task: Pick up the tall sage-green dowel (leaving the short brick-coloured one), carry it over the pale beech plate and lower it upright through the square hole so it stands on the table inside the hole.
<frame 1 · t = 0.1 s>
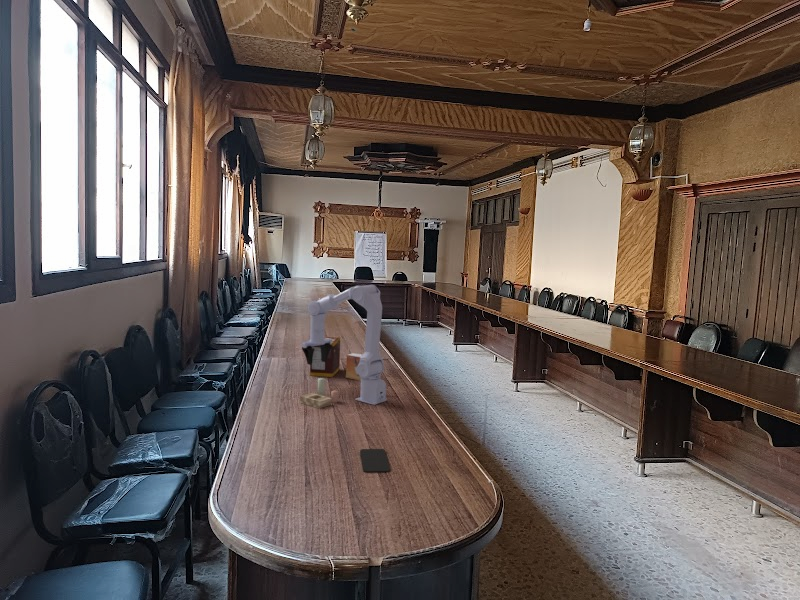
hand: (316, 363, 222), 10 cm above the table, fingers open, 7 cm apart
hole plate: (315, 403, 200), on the table
supplement box: (325, 372, 248), on the table
long pin: (320, 398, 208), on the table
short pin: (334, 401, 204), on the table
small box: (356, 378, 240), on the table
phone: (374, 462, 151), on the table
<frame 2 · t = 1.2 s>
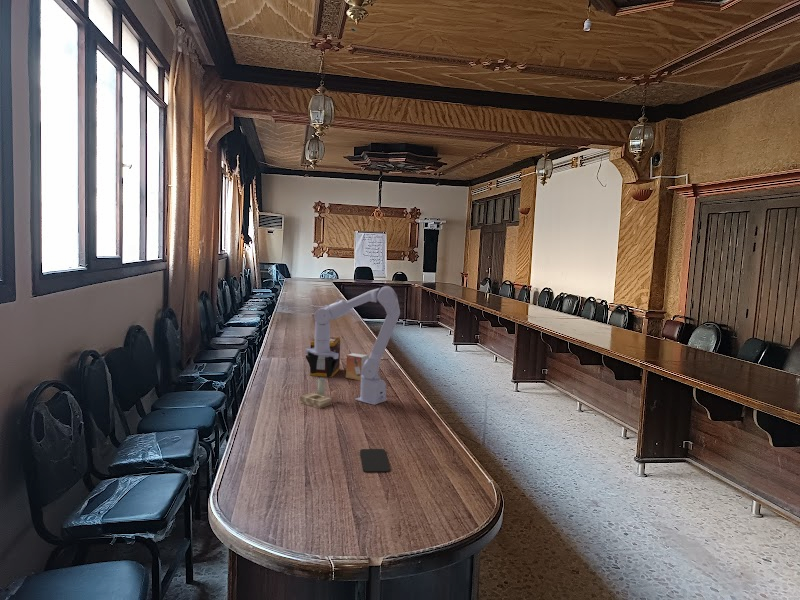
hand: (321, 374, 207), 9 cm above the table, fingers open, 7 cm apart
nothing on the table moved.
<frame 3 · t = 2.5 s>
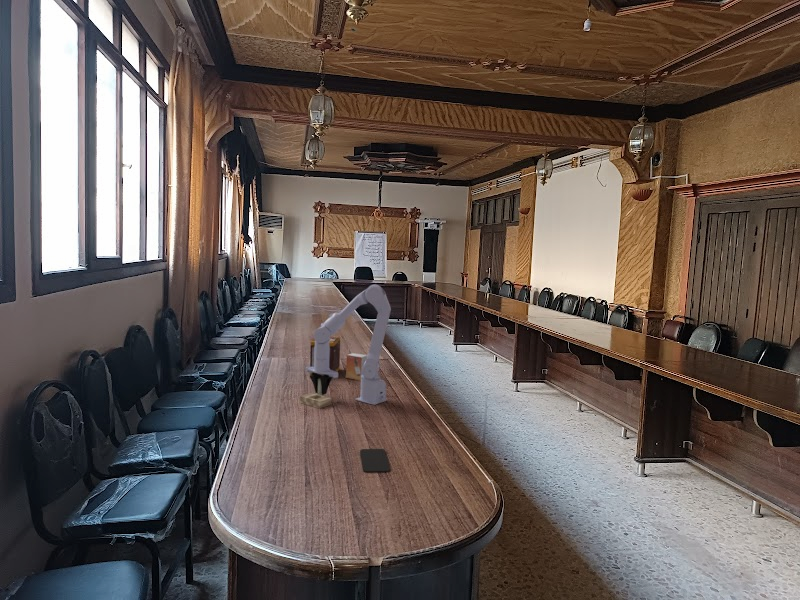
hand: (321, 393, 208), 2 cm above the table, fingers closed on long pin, 3 cm apart
long pin: (320, 398, 208), on the table, touching gripper
everything else where it was.
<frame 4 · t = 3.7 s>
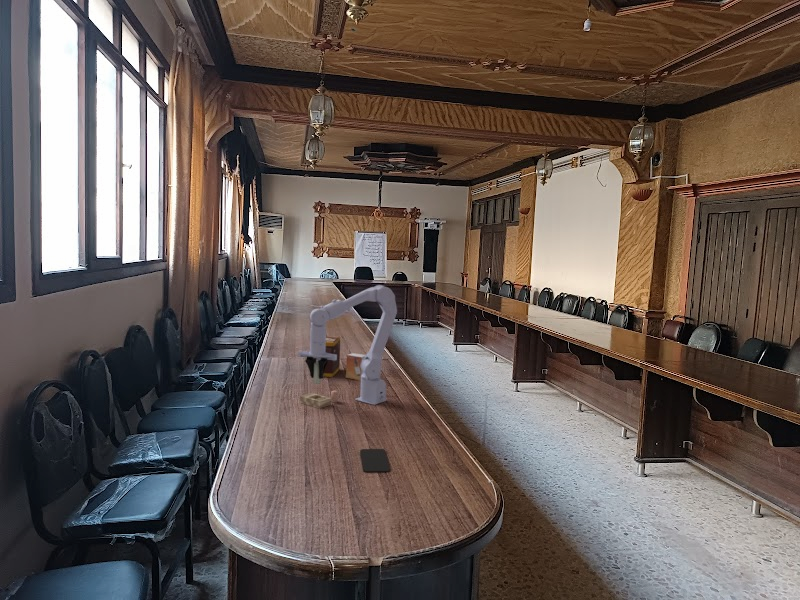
hand: (316, 377, 201), 9 cm above the table, fingers closed on long pin, 3 cm apart
long pin: (316, 383, 201), point 7 cm above the table, touching gripper
everything else where it was.
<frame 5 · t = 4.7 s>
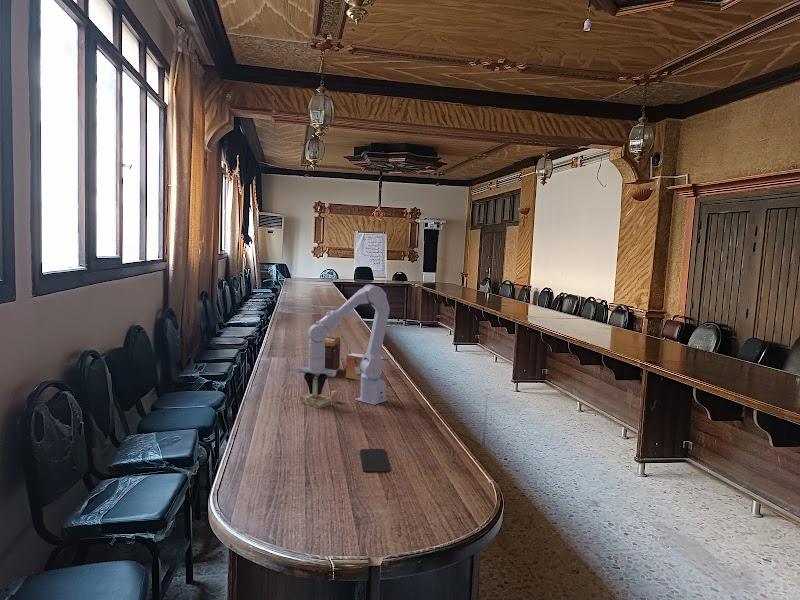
hand: (315, 393, 200), 4 cm above the table, fingers closed on long pin, 3 cm apart
long pin: (315, 398, 200), point 2 cm above the table, touching gripper
everything else where it was.
when the fingers open (3 cm above the table, at t = 5.1 s): long pin drops 1 cm, resting in hole plate.
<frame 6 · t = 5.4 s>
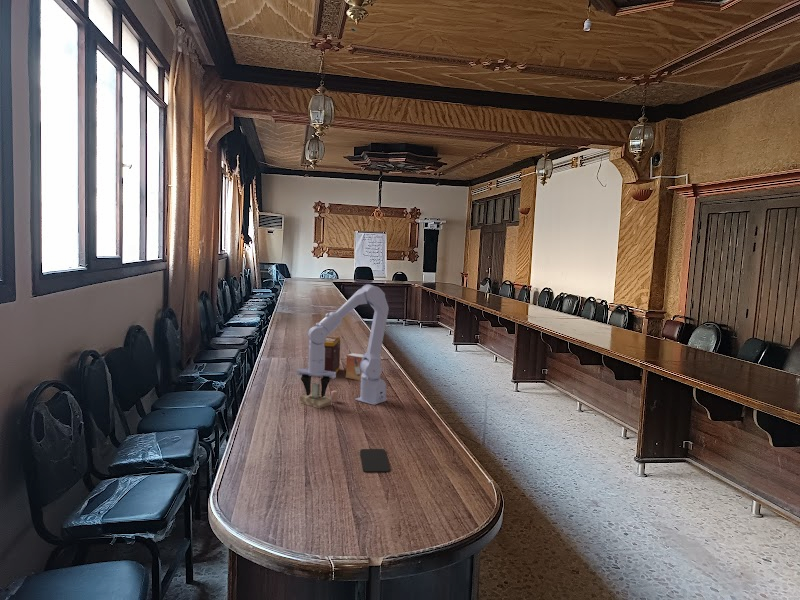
hand: (315, 395, 200), 3 cm above the table, fingers open, 5 cm apart
long pin: (315, 403, 200), resting in hole plate
everything else where it was.
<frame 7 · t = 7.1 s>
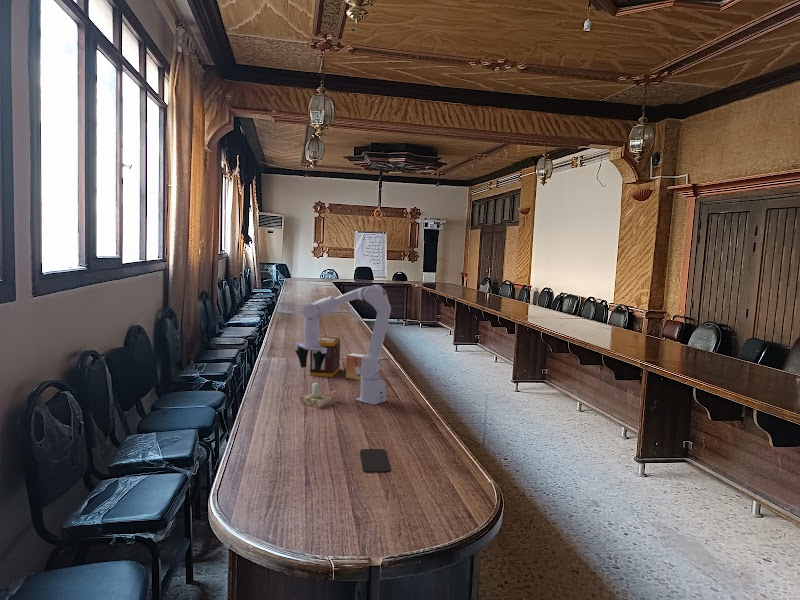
hand: (310, 368, 210), 10 cm above the table, fingers open, 7 cm apart
nothing on the table moved.
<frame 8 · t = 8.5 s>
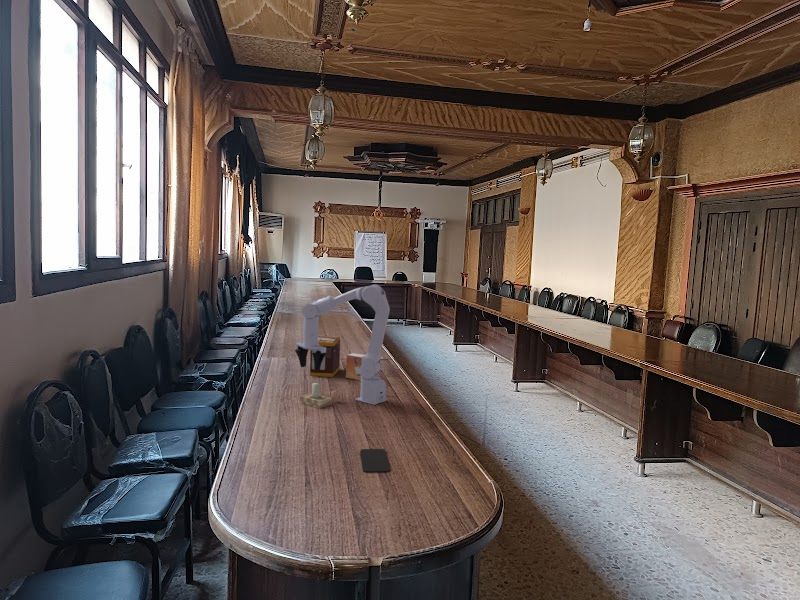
hand: (310, 368, 211), 10 cm above the table, fingers open, 7 cm apart
nothing on the table moved.
at the end: long pin 0.0 cm off-centre on the hole plate, point 0.0 cm above the hole plate's base; long pin tilted 0°; the gripper is holding nothing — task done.
